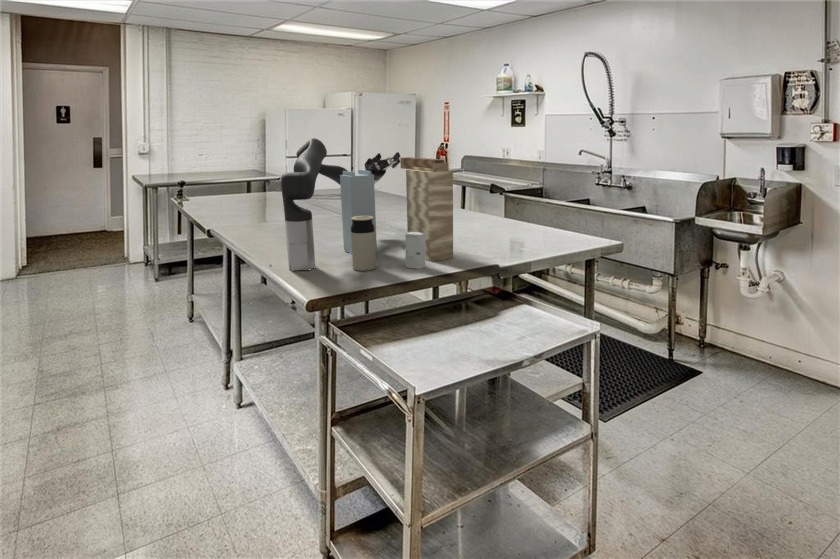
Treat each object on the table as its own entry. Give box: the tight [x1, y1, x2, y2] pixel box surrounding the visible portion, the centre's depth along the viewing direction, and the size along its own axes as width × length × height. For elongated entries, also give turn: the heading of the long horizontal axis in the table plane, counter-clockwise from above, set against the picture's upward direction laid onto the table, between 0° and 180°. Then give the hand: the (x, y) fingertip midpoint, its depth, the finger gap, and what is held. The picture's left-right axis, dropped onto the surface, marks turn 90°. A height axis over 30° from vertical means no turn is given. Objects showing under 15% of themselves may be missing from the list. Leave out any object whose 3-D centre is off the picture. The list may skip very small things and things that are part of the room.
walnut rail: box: [399, 156, 445, 170], centre depth 207 cm, size 24×4×4 cm, turn 33°
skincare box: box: [405, 232, 426, 270], centre depth 194 cm, size 6×4×12 cm
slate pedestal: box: [339, 169, 378, 255], centre depth 217 cm, size 9×10×32 cm
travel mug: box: [351, 216, 377, 272], centre depth 192 cm, size 8×8×18 cm
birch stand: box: [405, 161, 454, 262], centre depth 207 cm, size 16×10×35 cm, turn 33°
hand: (389, 154), depth 224 cm, fingers open, 8 cm apart
